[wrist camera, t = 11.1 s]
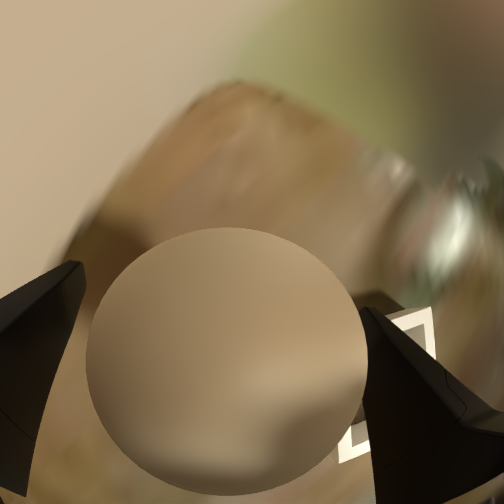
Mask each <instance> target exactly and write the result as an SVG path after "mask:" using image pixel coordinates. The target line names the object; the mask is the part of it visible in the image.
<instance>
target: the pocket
mask: <svg viewBox="0 0 504 504" xmlns="http://www.w3.org/2000/svg"><path fill="white" fill-rule="evenodd" d="M385 316H386V317H387V318H388V319H389V320H391V321H392V322H393V323H394V324H395V325H396V326H398V327H399V328H400V329H401V330H402V331H403V332H405V333H406V334H407V335H408V336H409V337H410V338H411V339H413V340H414V341H415V342H416V343H417V344H418V345H419V346H421V347H422V348H423V349H424V350H425V351H426V352H427V353H428V354H430V355H431V356H432V357H433V358H434V359H435V360H436V355H435V341H434V330H433V320H432V312H431V307H422V308H412V309H404V310H401V311H398V312H395V313H392V314H388V315H385ZM368 451H370V445H369V438H368V432H367V425H366V420H365V421H362V422H360V423H357V424H355V425H352V426H350V427H349V429H348V431H347V432H346V434H345V435H344V436H343V438H342V439H341V441H340V442H339V443H338V444H337V446H336V447H335V448H334V449H333V450H332V451H331V452H330V453H329V455H330V456H331V457H332V458H333V459H335V460H336V461H337V462H338V463H342V462H345V461H347V460H350V459H352V458H354V457H357V456H359V455H361V454H364V453H366V452H368Z"/></svg>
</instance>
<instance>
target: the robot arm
mask: <svg viewBox="0 0 504 504" xmlns="http://www.w3.org/2000/svg"><path fill="white" fill-rule="evenodd" d="M85 290H86V278H85V272H84V266H83V263H82V262H80V261H75V260H69V261H67V262H65V263H63V264H62V265H60V266H58V267H56V268H54V269H52V270H50V271H48V272H47V273H45V274H43V275H41V276H39V277H37V278H36V279H34V280H32V281H30V282H28V283H27V284H25V285H23V286H21V287H20V288H18V289H17V290H14V291H13V292H11V293H10V294H8V295H6V296H5V297H3V298H1V299H0V486H1V487H3V488H5V489H7V490H9V491H12V492H14V493H16V494H19V495H21V496H23V497H26V494H27V488H28V481H29V475H30V469H31V463H32V458H33V453H34V449H35V444H36V443H35V442H36V439H37V435H38V431H39V427H40V423H41V419H42V416H43V412H44V409H45V405H46V402H47V399H48V396H49V392H50V389H51V386H52V383H53V380H54V377H55V374H56V372H57V369H58V366H59V363H60V361H61V358H62V355H63V353H64V350H65V348H66V345H67V343H68V340H69V338H70V335H71V333H72V330H73V327H74V324H75V321H76V317H77V314H78V311H79V308H80V305H81V302H82V299H83V296H84V293H85ZM358 313H359V316H360V319H361V322H362V325H363V329H364V332H365V338H366V344H367V356H368V368H367V379H366V385H365V389H364V394H363V398H362V402H363V408H364V413H365V419H366V425H367V432H368V438H369V445H370V452H371V459H372V467H373V474H374V475H373V476H374V485H375V495H376V504H504V412H500V411H497V410H495V409H493V408H492V407H490V406H489V405H488V404H486V403H485V402H484V401H483V400H482V399H480V398H479V397H478V396H477V395H475V394H474V393H473V392H472V391H470V390H469V389H468V388H467V387H466V386H464V385H463V384H462V383H461V382H460V381H459V380H457V379H456V378H455V377H454V376H453V375H452V374H451V373H450V372H449V371H447V370H446V369H445V368H444V367H443V366H442V365H441V364H440V363H439V362H437V361H436V360H435V359H434V358H433V357H432V356H431V355H430V354H428V353H427V352H426V351H425V350H424V349H423V348H422V347H421V346H419V345H418V344H417V343H416V342H415V341H414V340H413V339H411V338H410V337H409V336H408V335H407V334H406V333H405V332H403V331H402V330H401V329H400V328H399V327H398V326H396V325H395V324H394V323H393V322H392V321H391V320H389V319H388V318H387V317H386V316H385V315H384V314H382V313H381V312H380V311H379V310H378V309H377V308H375V307H373V306H363V307H362V308H361V309H360V311H359V312H358ZM0 504H4V503H3V501H2V499H1V497H0Z"/></svg>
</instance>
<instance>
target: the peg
mask: <svg viewBox="0 0 504 504" xmlns="http://www.w3.org/2000/svg"><path fill="white" fill-rule="evenodd" d="M367 368H368V356H367V344H366V338H365V332H364V329H363V325H362V322H361V319H360V316H359V313H358V311H357V309H356V307H355V305H354V303H353V300H352V299H351V297H350V295H349V294H348V292H347V291H346V289H345V287H344V286H343V284H342V283H341V282H340V281H339V280H338V278H337V277H336V276H335V275H334V274H333V272H332V271H331V270H330V269H328V268H327V267H326V266H325V265H324V264H323V263H322V262H321V261H320V260H319V259H317V258H316V257H315V256H313V255H312V254H310V253H309V252H308V251H306V250H305V249H303V248H301V247H299V246H297V245H296V244H294V243H292V242H290V241H288V240H285V239H283V238H280V237H277V236H275V235H272V234H269V233H265V232H261V231H256V230H252V229H243V228H233V227H232V228H210V229H204V230H198V231H193V232H189V233H186V234H183V235H179V236H176V237H173V238H171V239H169V240H167V241H165V242H162V243H160V244H158V245H156V246H155V247H153V248H151V249H150V250H148V251H147V252H145V253H144V254H142V255H140V256H139V257H138V258H137V259H136V260H134V261H133V262H132V263H131V264H130V265H129V266H127V267H126V268H125V269H124V270H123V272H122V273H121V274H120V275H119V276H118V277H117V278H116V279H115V281H114V282H113V283H112V284H111V286H110V287H109V289H108V290H107V292H106V294H105V295H104V297H103V298H102V300H101V302H100V304H99V306H98V309H97V311H96V313H95V315H94V318H93V321H92V325H91V328H90V331H89V336H88V343H87V350H86V373H87V380H88V386H89V391H90V395H91V398H92V401H93V404H94V407H95V410H96V412H97V414H98V416H99V418H100V420H101V423H102V424H103V426H104V428H105V429H106V431H107V432H108V434H109V435H110V437H111V438H112V440H113V441H114V442H115V443H116V444H117V446H118V447H119V448H120V449H121V450H122V451H123V453H124V454H126V455H127V456H128V457H129V458H130V459H131V460H132V461H133V462H134V463H136V464H137V465H138V466H139V467H141V468H142V469H144V470H145V471H147V472H148V473H150V474H151V475H153V476H155V477H156V478H158V479H160V480H162V481H164V482H166V483H168V484H171V485H173V486H176V487H179V488H182V489H185V490H188V491H192V492H197V493H201V494H209V495H219V496H235V495H245V494H252V493H258V492H262V491H266V490H269V489H273V488H275V487H278V486H281V485H283V484H286V483H288V482H290V481H292V480H294V479H296V478H298V477H299V476H301V475H303V474H305V473H306V472H307V471H309V470H310V469H312V468H313V467H314V466H316V465H317V464H318V463H320V462H321V461H322V460H323V459H324V458H325V457H326V456H327V455H328V454H329V453H330V452H331V451H332V450H333V449H334V448H335V447H336V446H337V444H338V443H339V442H340V441H341V439H342V438H343V436H344V435H345V434H346V432H347V431H348V429H349V427H350V426H351V424H352V422H353V420H354V418H355V416H356V414H357V412H358V409H359V406H360V403H361V400H362V398H363V394H364V389H365V385H366V379H367Z"/></svg>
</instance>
